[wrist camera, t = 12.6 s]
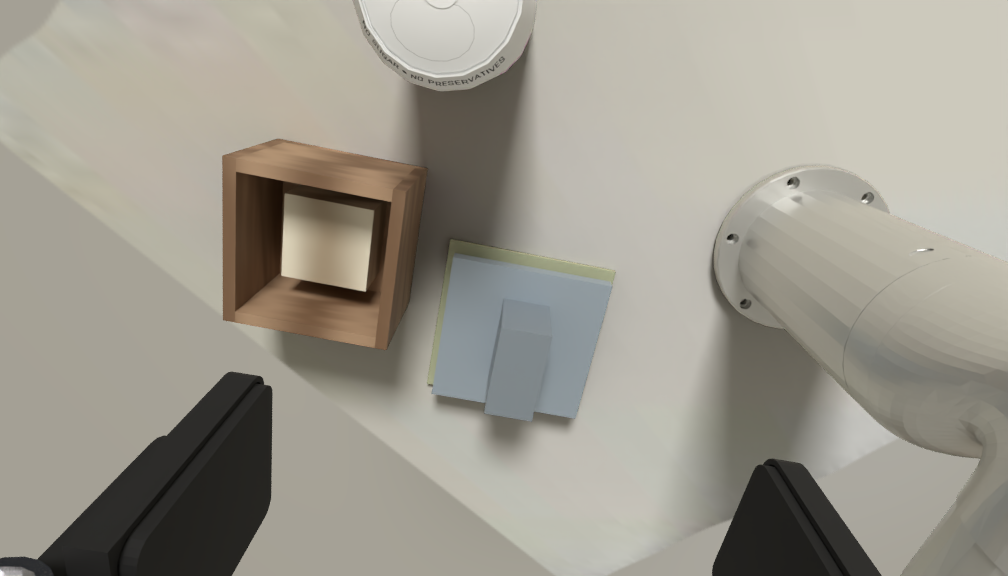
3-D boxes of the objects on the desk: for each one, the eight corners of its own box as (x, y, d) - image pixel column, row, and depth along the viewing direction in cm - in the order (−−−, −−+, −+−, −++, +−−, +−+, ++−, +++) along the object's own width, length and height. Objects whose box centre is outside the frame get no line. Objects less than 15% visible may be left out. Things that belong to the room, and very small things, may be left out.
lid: (608, 276, 43) (623, 314, 36) (573, 404, 47) (581, 458, 41) (456, 248, 42) (444, 282, 36) (435, 380, 47) (421, 431, 40)
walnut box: (427, 168, 40) (406, 191, 33) (408, 302, 45) (386, 350, 37) (278, 138, 40) (222, 155, 33) (273, 277, 44) (222, 320, 37)
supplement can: (514, 96, 38) (508, 115, 25) (398, 61, 38) (326, 60, 24) (549, -32, 35) (566, -94, 21) (424, -72, 35) (359, -163, 21)
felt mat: (614, 270, 43) (615, 272, 43) (575, 407, 48) (575, 410, 47) (450, 238, 42) (450, 240, 42) (427, 381, 47) (427, 383, 47)
